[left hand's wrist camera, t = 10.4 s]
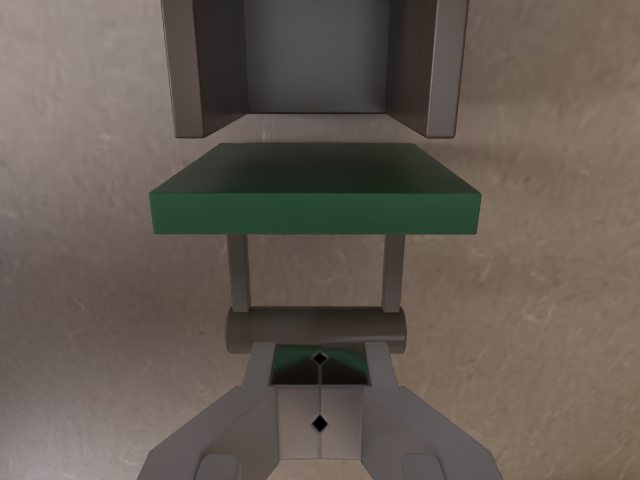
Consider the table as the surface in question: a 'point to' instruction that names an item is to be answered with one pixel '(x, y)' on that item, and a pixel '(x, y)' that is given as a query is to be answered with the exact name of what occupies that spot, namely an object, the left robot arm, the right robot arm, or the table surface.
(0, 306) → the table surface
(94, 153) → the table surface
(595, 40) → the table surface
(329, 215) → the drawer
